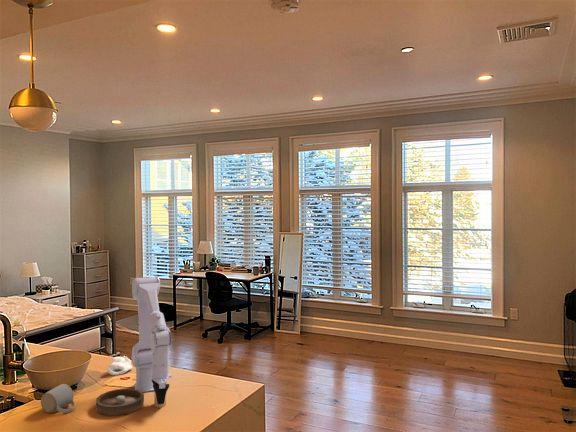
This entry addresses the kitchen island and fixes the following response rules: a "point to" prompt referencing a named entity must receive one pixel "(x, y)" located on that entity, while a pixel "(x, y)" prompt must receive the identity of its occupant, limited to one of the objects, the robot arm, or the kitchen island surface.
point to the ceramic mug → (58, 399)
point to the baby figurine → (119, 365)
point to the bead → (157, 403)
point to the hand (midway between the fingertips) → (160, 401)
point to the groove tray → (112, 402)
